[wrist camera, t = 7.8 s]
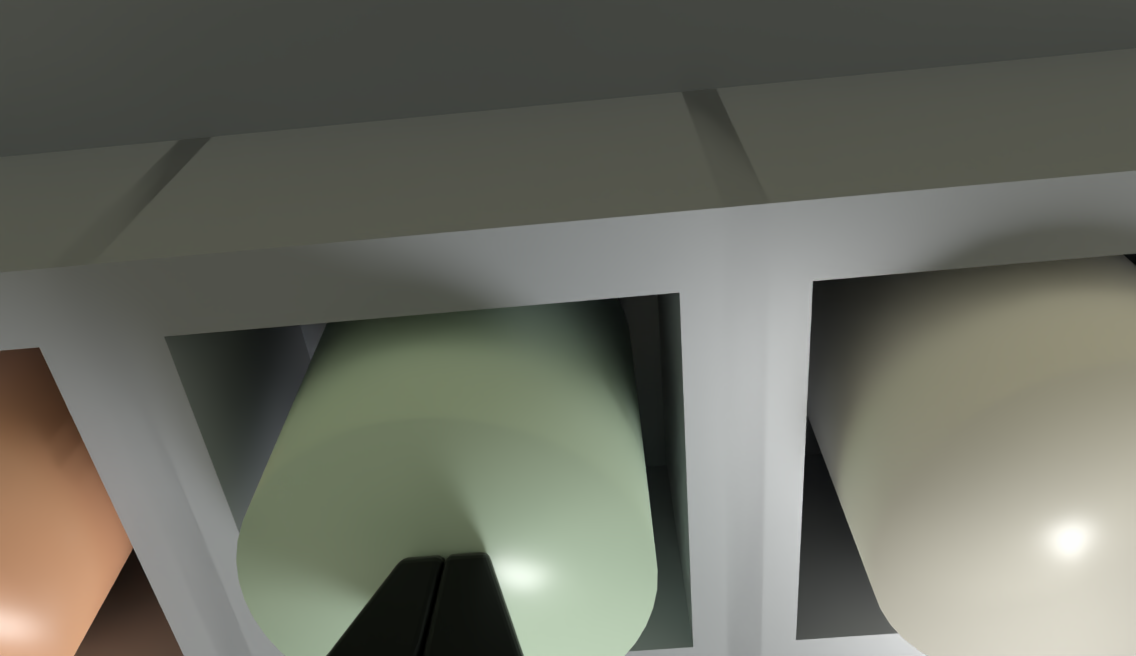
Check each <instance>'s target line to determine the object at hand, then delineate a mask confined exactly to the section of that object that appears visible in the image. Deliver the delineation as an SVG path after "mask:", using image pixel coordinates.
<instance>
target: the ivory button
mask: <svg viewBox="0 0 1136 656" xmlns="http://www.w3.org/2000/svg"><path fill="white" fill-rule="evenodd" d="M807 415H808V418H809V421H810V423H811V426H812V429H813V431H814V434H815V437H816V439H817V442H818V445H819V447H820V450H821V453H822V455H823V458H824V461H825V463H826V466H827V469H828V471H829V474H830V477H831V479H832V482H833V485H834V487H835V490H836V493H837V495H838V498H839V501H840V503H841V506H842V509H843V511H844V514H845V517H846V519H847V522H848V525H849V527H850V530H851V533H852V535H853V538H854V541H855V543H856V546H857V549H858V551H859V554H860V557H861V559H862V562H863V565H864V567H865V570H866V573H867V575H868V578H869V581H870V583H871V586H872V589H873V591H874V594H875V597H876V599H877V602H878V604H879V607H880V609H881V611H882V612H883V614H884V616H885V617H886V619H887V620H888V622H889V623H890V625H891V626H892V627H893V628H894V629H895V630H896V631H897V632H898V634H899V635H900V636H901V637H902V638H903V639H904V640H906V641H907V642H908V643H910V644H911V645H912V646H913V647H915V648H916V649H917V650H919V651H920V652H922V653H924V654H926V655H927V656H1136V265H1135V264H1133V263H1132V262H1131V261H1130V260H1129V259H1128V258H1127V257H1125V256H1124V255H1112V256H1100V257H1088V258H1077V259H1065V260H1053V261H1042V262H1030V263H1018V264H1007V265H995V266H983V267H972V268H960V269H948V270H937V271H925V272H913V273H901V274H890V275H878V276H866V277H855V278H843V279H831V280H820V281H813V290H812V311H811V332H810V353H809V374H808V396H807Z"/></svg>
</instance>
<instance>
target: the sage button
mask: <svg viewBox="0 0 1136 656" xmlns="http://www.w3.org/2000/svg"><path fill="white" fill-rule="evenodd" d="M475 552H485V553H487V554H488V555H489V556H490V558H491V561H492V564H493V567H494V570H495V573H496V575H497V578H498V581H499V584H500V587H501V590H502V593H503V596H504V599H505V602H506V605H507V608H508V611H509V613H510V616H511V619H512V622H513V625H514V628H515V631H516V634H517V637H518V640H519V643H520V646H521V649H522V651H523V654H524V656H625V655H626V654H627V653H628V651H629V650H630V649H631V648H632V647H633V645H634V644H635V643H636V641H637V640H638V638H639V637H640V635H641V633H642V632H643V630H644V628H645V627H646V625H647V622H648V620H649V617H650V615H651V612H652V610H653V606H654V602H655V597H656V592H657V574H658V569H657V561H656V552H655V543H654V535H653V526H652V517H651V509H650V500H649V492H648V483H647V474H646V466H645V457H644V449H643V440H642V431H641V423H640V414H639V406H638V397H637V388H636V380H635V371H634V362H633V354H632V345H631V338H630V332H629V326H628V323H627V320H626V317H625V313H624V310H623V308H622V306H621V304H620V302H619V300H618V298H609V299H598V300H586V301H574V302H563V303H551V304H539V305H528V306H516V307H504V308H493V309H481V310H469V311H458V312H446V313H434V314H423V315H411V316H399V317H388V318H376V319H364V320H352V321H341V322H329V323H327V324H326V326H325V329H324V331H323V333H322V336H321V338H320V341H319V343H318V345H317V348H316V350H315V352H314V355H313V357H312V359H311V362H310V364H309V366H308V369H307V371H306V373H305V376H304V378H303V380H302V383H301V385H300V388H299V390H298V392H297V395H296V397H295V399H294V402H293V404H292V406H291V409H290V411H289V413H288V416H287V418H286V420H285V423H284V425H283V428H282V430H281V432H280V435H279V437H278V439H277V442H276V444H275V446H274V449H273V451H272V453H271V456H270V458H269V460H268V463H267V465H266V467H265V470H264V472H263V475H262V477H261V479H260V482H259V484H258V486H257V489H256V491H255V493H254V496H253V498H252V500H251V503H250V505H249V507H248V510H247V512H246V514H245V517H244V519H243V522H242V526H241V529H240V533H239V537H238V541H237V556H236V563H237V572H238V580H239V584H240V587H241V590H242V594H243V597H244V600H245V602H246V604H247V606H248V608H249V610H250V612H251V614H252V616H253V618H254V620H255V621H256V622H257V624H258V625H259V627H260V628H261V630H262V631H263V633H264V634H265V635H266V637H267V638H268V639H269V640H270V641H271V642H272V643H273V644H274V645H275V646H276V647H277V649H278V650H279V651H280V652H281V653H283V654H284V655H285V656H326V655H327V654H328V653H329V652H330V650H331V649H332V648H333V646H334V645H335V644H336V642H337V641H338V640H339V639H340V637H341V636H342V635H343V633H344V632H345V631H346V630H347V628H348V627H349V626H350V624H351V623H352V622H353V620H354V619H355V618H356V617H357V615H358V614H359V613H360V611H361V610H362V609H363V608H364V606H365V605H366V604H367V602H368V601H369V600H370V598H371V597H372V596H373V595H374V593H375V592H376V591H377V589H378V588H379V587H380V586H381V584H382V583H383V582H384V580H385V579H386V578H387V576H388V575H389V574H390V573H391V571H392V570H393V569H394V567H395V566H396V565H397V564H398V563H399V562H400V561H401V560H403V559H404V558H407V557H419V556H433V555H440V556H442V557H444V558H445V560H446V558H447V557H448V556H449V555H451V554H461V553H475Z"/></svg>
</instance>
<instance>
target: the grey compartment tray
mask: <svg viewBox="0 0 1136 656" xmlns="http://www.w3.org/2000/svg"><path fill="white" fill-rule="evenodd" d="M1112 255H1124V256H1125V257H1127V258H1128V259H1129V260H1130V261H1131V262H1132V263H1133V264H1135V265H1136V0H0V351H2V350H14V349H25V348H37V347H39V348H40V350H41V352H42V354H43V356H44V358H45V361H46V363H47V365H48V367H49V369H50V371H51V373H52V376H53V378H54V380H55V382H56V384H57V386H58V388H59V390H60V393H61V395H62V397H63V399H64V401H65V403H66V405H67V408H68V410H69V412H70V414H71V416H72V418H73V420H74V422H75V425H76V427H77V429H78V431H79V433H80V435H81V437H82V440H83V442H84V444H85V446H86V448H87V450H88V452H89V454H90V457H91V459H92V461H93V463H94V465H95V467H96V469H97V472H98V474H99V476H100V478H101V480H102V482H103V484H104V486H105V489H106V491H107V493H108V495H109V497H110V499H111V501H112V504H113V506H114V508H115V510H116V512H117V514H118V516H119V518H120V521H121V523H122V525H123V527H124V529H125V531H126V533H127V536H128V538H129V540H130V542H131V544H132V546H133V549H132V551H131V553H130V555H129V557H128V559H127V560H126V562H125V564H124V566H123V568H122V569H121V571H120V573H119V575H118V577H117V579H116V580H115V582H114V584H113V586H112V588H111V589H110V591H109V593H108V595H107V597H106V599H105V600H104V602H103V604H102V606H101V608H100V609H99V611H98V613H97V615H96V617H95V618H94V620H93V622H92V624H91V626H90V628H89V629H88V631H87V633H86V635H85V637H84V638H83V640H82V642H81V644H80V646H79V648H78V649H77V651H76V653H75V655H74V656H285V655H284V654H283V653H281V652H280V651H279V650H278V649H277V647H276V646H275V645H274V644H273V643H272V642H271V641H270V640H269V639H268V638H267V637H266V635H265V634H264V633H263V631H262V630H261V628H260V627H259V625H258V624H257V622H256V621H255V620H254V618H253V616H252V614H251V612H250V610H249V608H248V606H247V604H246V602H245V600H244V597H243V594H242V590H241V587H240V584H239V580H238V572H237V563H236V556H237V541H238V537H239V533H240V529H241V526H242V522H243V519H244V517H245V514H246V512H247V510H248V507H249V505H250V503H251V500H252V498H253V496H254V493H255V491H256V489H257V486H258V484H259V482H260V479H261V477H262V475H263V472H264V470H265V467H266V465H267V463H268V460H269V458H270V456H271V453H272V451H273V449H274V446H275V444H276V442H277V439H278V437H279V435H280V432H281V430H282V428H283V425H284V423H285V420H286V418H287V416H288V413H289V411H290V409H291V406H292V404H293V402H294V399H295V397H296V395H297V392H298V390H299V388H300V385H301V383H302V380H303V378H304V376H305V373H306V371H307V369H308V366H309V364H310V362H311V359H312V357H313V355H314V352H315V350H316V348H317V345H318V343H319V341H320V338H321V336H322V333H323V331H324V329H325V326H326V324H327V323H329V322H341V321H352V320H364V319H376V318H388V317H399V316H411V315H423V314H434V313H446V312H458V311H469V310H481V309H493V308H504V307H516V306H528V305H539V304H551V303H563V302H574V301H586V300H598V299H609V298H618V300H619V302H620V304H621V306H622V308H623V310H624V313H625V317H626V320H627V323H628V326H629V332H630V338H631V345H632V354H633V362H634V371H635V380H636V388H637V397H638V406H639V414H640V423H641V431H642V440H643V449H644V457H645V466H646V474H647V483H648V492H649V500H650V509H651V517H652V526H653V535H654V543H655V552H656V561H657V569H658V574H657V592H656V597H655V602H654V606H653V610H652V612H651V615H650V617H649V620H648V622H647V625H646V627H645V628H644V630H643V632H642V633H641V635H640V637H639V638H638V640H637V641H636V643H635V644H634V645H633V647H632V648H631V649H630V650H629V651H628V653H627V654H626V655H625V656H927V655H926V654H924V653H922V652H920V651H919V650H917V649H916V648H915V647H913V646H912V645H911V644H910V643H908V642H907V641H906V640H904V639H903V638H902V637H901V636H900V635H899V634H898V632H897V631H896V630H895V629H894V628H893V627H892V626H891V625H890V623H889V622H888V620H887V619H886V617H885V616H884V614H883V612H882V611H881V609H880V607H879V604H878V602H877V599H876V597H875V594H874V591H873V589H872V586H871V583H870V581H869V578H868V575H867V573H866V570H865V567H864V565H863V562H862V559H861V557H860V554H859V551H858V549H857V546H856V543H855V541H854V538H853V535H852V533H851V530H850V527H849V525H848V522H847V519H846V517H845V514H844V511H843V509H842V506H841V503H840V501H839V498H838V495H837V493H836V490H835V487H834V485H833V482H832V479H831V477H830V474H829V471H828V469H827V466H826V463H825V461H824V458H823V455H822V453H821V450H820V447H819V445H818V442H817V439H816V437H815V434H814V431H813V429H812V426H811V423H810V421H809V418H808V415H807V396H808V374H809V353H810V332H811V311H812V290H813V281H820V280H831V279H843V278H855V277H866V276H878V275H890V274H901V273H913V272H925V271H937V270H948V269H960V268H972V267H983V266H995V265H1007V264H1018V263H1030V262H1042V261H1053V260H1065V259H1077V258H1088V257H1100V256H1112Z"/></svg>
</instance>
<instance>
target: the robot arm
mask: <svg viewBox="0 0 1136 656" xmlns="http://www.w3.org/2000/svg"><path fill="white" fill-rule="evenodd" d="M326 656H524V654H523V651H522V649H521V646H520V643H519V640H518V637H517V634H516V631H515V628H514V625H513V622H512V619H511V616H510V613H509V611H508V608H507V605H506V602H505V599H504V596H503V593H502V590H501V587H500V584H499V581H498V578H497V575H496V573H495V570H494V567H493V564H492V561H491V558H490V556H489V555H488V554H487V553H485V552H475V553H461V554H451V555H449V556H448V557H447V558H446V560H445V558H444V557H442V556H440V555H433V556H419V557H407V558H404V559H403V560H401V561H400V562H399V563H398V564H397V565H396V566H395V567H394V569H393V570H392V571H391V573H390V574H389V575H388V576H387V578H386V579H385V580H384V582H383V583H382V584H381V586H380V587H379V588H378V589H377V591H376V592H375V593H374V595H373V596H372V597H371V598H370V600H369V601H368V602H367V604H366V605H365V606H364V608H363V609H362V610H361V611H360V613H359V614H358V615H357V617H356V618H355V619H354V620H353V622H352V623H351V624H350V626H349V627H348V628H347V630H346V631H345V632H344V633H343V635H342V636H341V637H340V639H339V640H338V641H337V642H336V644H335V645H334V646H333V648H332V649H331V650H330V652H329V653H328V654H327V655H326Z"/></svg>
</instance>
